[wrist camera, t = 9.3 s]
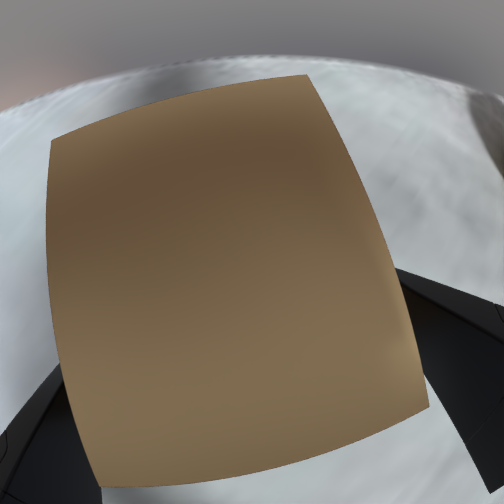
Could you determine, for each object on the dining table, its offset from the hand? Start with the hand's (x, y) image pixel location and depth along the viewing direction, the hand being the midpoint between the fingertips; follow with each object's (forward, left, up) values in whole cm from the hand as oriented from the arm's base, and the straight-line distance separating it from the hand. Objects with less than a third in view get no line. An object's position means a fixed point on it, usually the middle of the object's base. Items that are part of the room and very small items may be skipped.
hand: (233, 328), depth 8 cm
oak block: (0, -1, -8) cm, 8 cm away
